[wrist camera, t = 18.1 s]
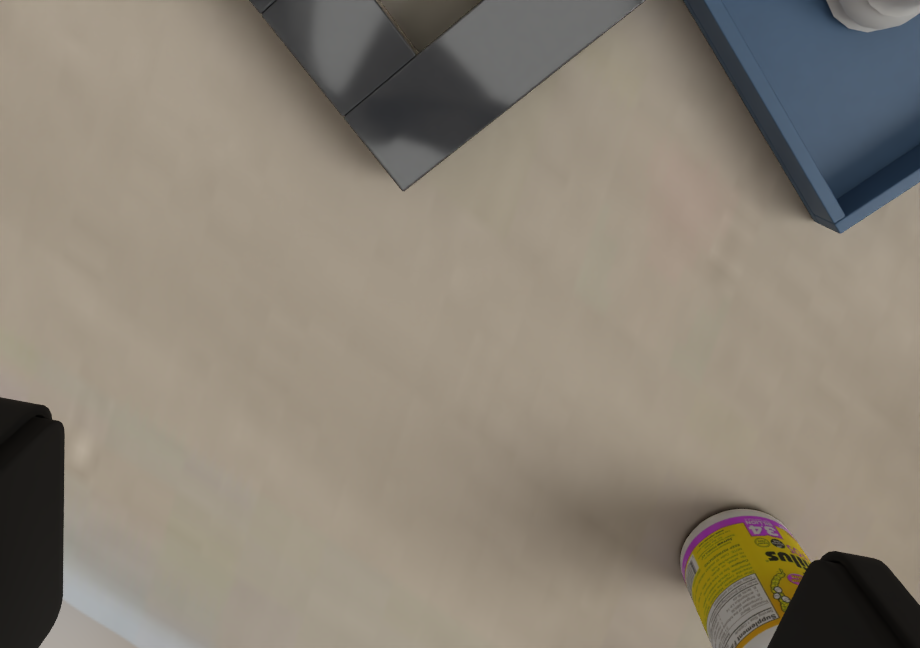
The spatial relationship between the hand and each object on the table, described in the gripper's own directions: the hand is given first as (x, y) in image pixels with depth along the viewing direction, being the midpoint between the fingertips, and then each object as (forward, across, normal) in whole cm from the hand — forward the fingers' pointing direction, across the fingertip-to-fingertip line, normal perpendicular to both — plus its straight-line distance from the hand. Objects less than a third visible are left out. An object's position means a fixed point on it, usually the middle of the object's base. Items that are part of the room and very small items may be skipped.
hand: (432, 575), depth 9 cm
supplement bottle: (+26, -21, +17) cm, 38 cm away
